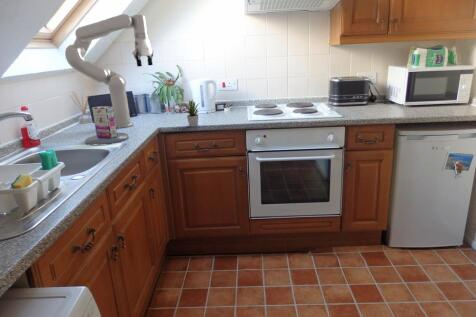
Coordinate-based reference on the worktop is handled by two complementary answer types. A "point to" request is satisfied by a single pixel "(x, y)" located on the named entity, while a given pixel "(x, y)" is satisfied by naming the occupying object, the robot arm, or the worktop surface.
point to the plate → (107, 139)
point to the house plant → (192, 113)
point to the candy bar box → (104, 122)
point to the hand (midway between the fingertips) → (145, 65)
